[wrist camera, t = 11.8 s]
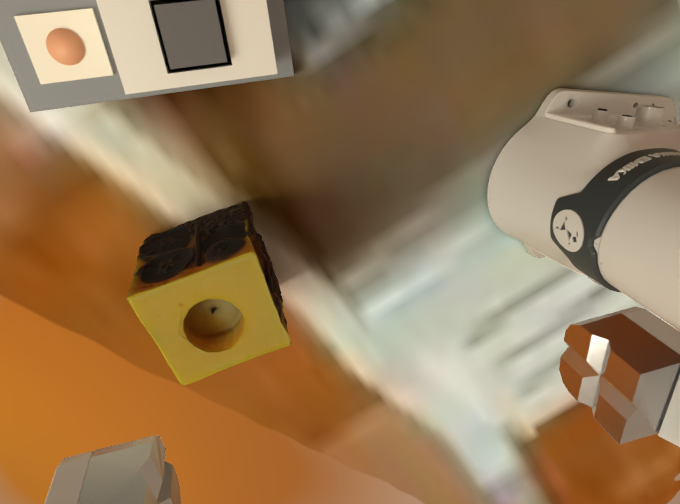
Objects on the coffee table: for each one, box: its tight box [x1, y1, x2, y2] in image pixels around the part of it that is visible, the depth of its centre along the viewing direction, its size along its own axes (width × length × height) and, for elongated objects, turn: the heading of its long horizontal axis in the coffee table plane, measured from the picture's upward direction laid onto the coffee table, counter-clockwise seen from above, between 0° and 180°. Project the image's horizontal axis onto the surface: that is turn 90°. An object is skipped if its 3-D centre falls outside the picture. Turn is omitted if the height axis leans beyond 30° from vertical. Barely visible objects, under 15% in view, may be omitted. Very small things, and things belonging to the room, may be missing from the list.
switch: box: [154, 0, 227, 69], centre depth 31 cm, size 4×4×6 cm
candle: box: [127, 202, 291, 385], centre depth 40 cm, size 10×10×10 cm
